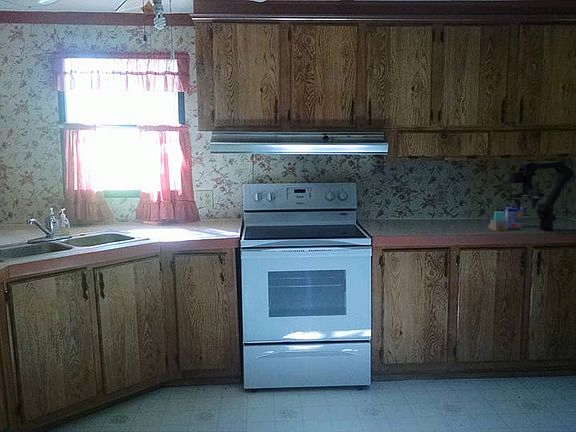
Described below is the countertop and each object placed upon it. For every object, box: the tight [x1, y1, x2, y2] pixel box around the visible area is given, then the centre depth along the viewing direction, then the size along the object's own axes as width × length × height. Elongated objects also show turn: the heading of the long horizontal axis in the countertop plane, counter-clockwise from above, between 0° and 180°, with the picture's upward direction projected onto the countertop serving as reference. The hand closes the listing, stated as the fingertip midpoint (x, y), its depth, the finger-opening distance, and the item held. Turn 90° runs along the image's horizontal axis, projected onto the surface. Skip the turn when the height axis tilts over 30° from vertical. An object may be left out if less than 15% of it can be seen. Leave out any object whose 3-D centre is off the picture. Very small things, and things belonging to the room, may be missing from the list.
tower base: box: [488, 223, 509, 232], centre depth 304 cm, size 8×8×3 cm
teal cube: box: [493, 211, 505, 221], centre depth 303 cm, size 5×5×5 cm
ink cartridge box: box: [504, 203, 525, 228], centre depth 311 cm, size 10×6×14 cm, turn 86°
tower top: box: [489, 219, 507, 226], centre depth 303 cm, size 7×7×3 cm
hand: (526, 209), depth 295 cm, fingers open, 9 cm apart
